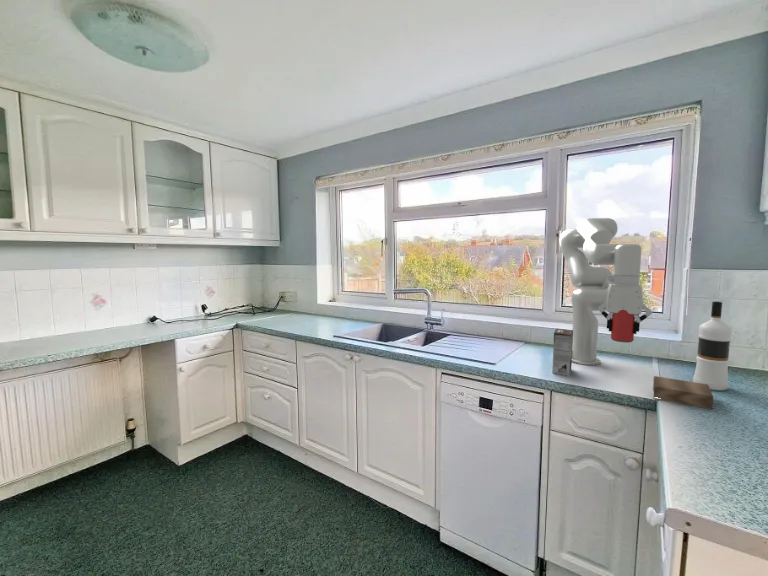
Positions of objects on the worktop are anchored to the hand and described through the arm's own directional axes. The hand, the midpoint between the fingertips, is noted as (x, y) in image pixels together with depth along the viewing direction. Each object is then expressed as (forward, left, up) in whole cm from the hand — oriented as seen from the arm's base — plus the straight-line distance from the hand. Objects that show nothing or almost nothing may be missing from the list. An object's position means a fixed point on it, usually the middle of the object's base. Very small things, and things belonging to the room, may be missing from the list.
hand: (622, 331), depth 124 cm
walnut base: (+17, 0, -19) cm, 26 cm away
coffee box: (-19, +6, -20) cm, 28 cm away
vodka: (+26, +18, -20) cm, 37 cm away
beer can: (0, 0, -3) cm, 3 cm away
